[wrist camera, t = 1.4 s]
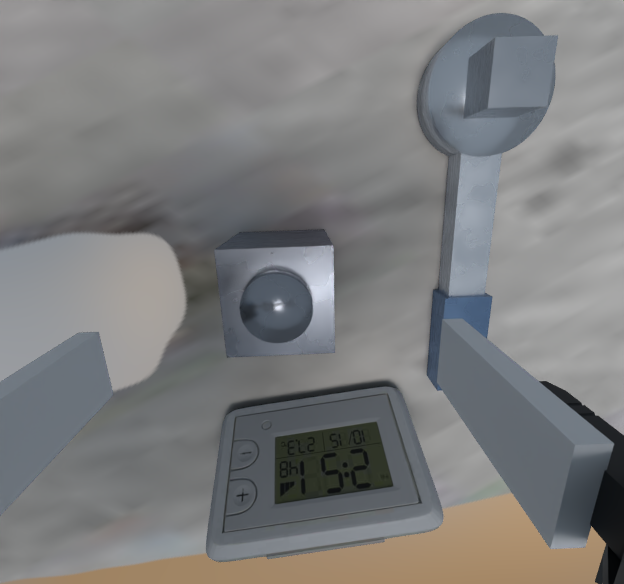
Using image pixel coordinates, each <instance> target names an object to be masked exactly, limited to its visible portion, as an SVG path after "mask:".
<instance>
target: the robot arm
mask: <svg viewBox="0 0 624 584" xmlns="http://www.w3.org/2000/svg"><path fill="white" fill-rule="evenodd" d="M437 383H438V385H439V386H440V388H441V389H442V391H443V392H444V394H445V395H446V396H447V398H448V399H449V401H450V402H451V404H452V405H453V407H454V408H455V410H456V411H457V413H458V414H459V416H460V417H461V418H462V420H463V421H464V423H465V424H466V426H467V427H468V429H469V430H470V432H471V433H472V435H473V436H474V438H475V439H476V441H477V442H478V443H479V445H480V446H481V448H482V449H483V451H484V452H485V454H486V455H487V457H488V458H489V460H490V461H491V463H492V464H493V465H494V467H495V468H496V470H497V471H498V473H499V474H500V476H501V477H502V479H503V480H504V482H505V483H506V485H507V486H508V488H509V489H510V490H511V492H512V493H513V495H514V496H515V498H516V499H517V501H518V502H519V504H520V505H521V507H522V508H523V510H524V511H525V512H526V514H527V515H528V517H529V518H530V520H531V521H532V523H533V524H534V526H535V527H536V528H537V530H538V532H539V533H540V534H541V536H542V537H543V539H544V540H545V542H546V543H547V545H548V546H549V548H550V549H561V548H582V547H583V548H584V547H585V546H586V543H587V539H588V535H589V532H590V528H591V526H592V527H593V528H594V530H595V531H596V532H597V533H598V534H599V536H600V537H601V538H602V539H603V540H604V541H605V543H606V547H605V550H604V553H603V556H602V560H601V563H600V566H599V570H598V573H597V576H596V579H595V582H596V583H598V584H602V583H603V584H624V435H622V434H621V433H620V432H618V431H617V430H616V429H615V428H613V427H612V426H611V425H609V424H608V423H607V422H606V421H604V420H603V419H602V418H600V417H599V416H595V413H594V412H593V411H591V410H590V409H589V408H587V407H586V406H585V405H582V403H581V402H580V401H578V400H577V399H576V398H574V397H573V396H572V395H571V394H569V393H568V392H567V391H565V390H563V389H561V388H559V387H557V386H555V385H553V384H551V383H549V382H547V381H538V380H536V379H535V378H534V377H533V376H531V375H530V374H529V373H528V372H527V371H525V370H524V369H523V368H522V367H521V366H519V365H518V364H517V363H516V362H514V361H513V360H512V359H511V358H510V357H508V356H507V355H506V354H505V353H504V352H502V351H501V350H500V349H499V348H497V347H496V346H495V345H494V344H493V343H491V342H490V341H489V340H488V339H487V338H485V337H484V336H483V335H482V334H480V333H479V332H478V331H477V330H476V329H474V328H473V327H472V326H471V325H470V324H468V323H467V322H466V321H465V320H463V319H442V329H441V340H440V352H439V363H438V375H437ZM112 396H113V391H112V386H111V382H110V378H109V374H108V370H107V365H106V361H105V357H104V352H103V348H102V344H101V340H100V336H99V332H83V333H77V334H76V335H74V336H72V337H71V338H69V339H68V340H66V341H64V342H63V343H61V344H60V345H58V346H57V347H55V348H54V349H52V350H50V351H48V352H47V353H45V354H44V355H42V356H41V357H39V358H37V359H36V360H34V361H33V362H31V363H29V364H28V365H26V366H25V367H23V368H21V369H20V370H18V371H17V372H15V373H14V374H12V375H10V376H9V377H7V378H6V379H4V380H2V381H1V382H0V515H1V514H2V513H3V512H4V511H5V510H6V509H7V508H8V507H9V506H10V505H11V504H12V503H13V501H14V500H15V499H16V498H17V497H18V496H19V495H20V494H21V493H22V492H23V491H24V490H25V489H26V488H27V487H28V485H29V484H30V483H31V482H32V481H33V480H34V479H35V478H36V477H37V476H38V475H39V474H40V473H41V472H42V471H43V469H44V468H45V467H46V466H47V465H48V464H49V463H50V462H51V461H52V460H53V459H54V458H55V457H56V456H57V454H58V453H59V452H60V451H61V450H62V449H63V448H64V447H65V446H66V445H67V444H68V443H69V442H70V441H71V440H72V438H73V437H74V436H75V435H76V434H77V433H78V432H79V431H80V430H81V429H82V428H83V427H84V426H85V425H86V424H87V422H88V421H89V420H90V419H91V418H92V417H93V416H94V415H95V414H96V413H97V412H98V411H99V410H100V409H101V408H102V406H103V405H104V404H105V403H106V402H107V401H108V400H109V399H110V398H111V397H112Z"/></svg>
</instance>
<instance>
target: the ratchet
mask: <svg viewBox="0 0 624 584" xmlns="http://www.w3.org/2000/svg"><path fill="white" fill-rule="evenodd" d="M557 39H558V35H557V36H544V35H543V33H542V32H541V31H540V30H539V29H538V28H537V27H536V26H535V25H534V24H533V23H531V22H530V21H528V20H526V19H525V18H522V17H520V16H517V15H513V14H507V13H497V14H490V15H486V16H483V17H480V18H478V19H475V20H474V21H472V22H470V23H468V24H467V25H465V26H464V27H463V28H462V29H460V30H459V31H458V32H457V33H456V34H455V35H454V36H453V37H452V38H451V39H450V40H449V41H448V42H447V43H446V44H445V45H444V46H443V47H442V48H441V49H440V50H439V51H438V52H437V53H436V54H435V56H434V57H433V58H432V59H431V61H430V63H429V64H428V66H427V67H426V69H425V71H424V74H423V76H422V79H421V81H420V85H419V89H418V95H417V113H418V119H419V123H420V126H421V128H422V131H423V133H424V135H425V136H426V138H427V139H428V141H429V142H430V143H431V144H432V145H433V146H434V147H435V148H436V149H437V150H439V151H440V152H441V153H443V154H445V155H447V156H449V162H448V174H447V187H446V199H445V212H444V224H443V237H442V249H441V262H440V274H439V287H438V290H433V302H432V316H431V329H430V342H429V355H428V368H427V376H428V378H429V379H430V380H431V382H432V383H433V385H434V386H435V388H436V389H437V391H438V390H442V389H441V388H440V386H439V385H438V383H437V375H438V363H439V352H440V340H441V329H442V319H463V320H465V321H466V322H467V323H468V324H470V325H471V326H472V327H473V328H474V329H476V330H477V331H478V332H479V333H480V334H482V335H483V336H484V337H485V338H487V334H488V326H489V318H490V311H491V303H492V296H490V295H488V294H487V293H485V286H486V278H487V270H488V262H489V253H490V245H491V237H492V229H493V221H494V213H495V204H496V196H497V188H498V180H499V172H500V164H501V155H502V153H503V152H506V151H508V150H510V149H512V148H514V147H516V146H517V145H519V144H520V143H521V142H523V141H524V140H525V139H526V138H527V137H528V136H530V134H531V133H532V132H533V131H534V130H535V129H536V128H537V126H538V125H539V124H540V122H541V121H542V119H543V117H544V115H545V114H546V112H547V109H548V107H549V105H550V102H551V99H552V96H553V91H554V86H555V63H554V59H555V52H556V46H557Z"/></svg>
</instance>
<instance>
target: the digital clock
mask: <svg viewBox="0 0 624 584" xmlns="http://www.w3.org/2000/svg"><path fill="white" fill-rule="evenodd" d="M442 522H443V511H442V507H441V503H440V500H439V497H438V494H437V491H436V488H435V485H434V482H433V480H432V477H431V474H430V471H429V468H428V465H427V463H426V460H425V457H424V454H423V451H422V448H421V446H420V443H419V440H418V437H417V434H416V431H415V429H414V426H413V423H412V420H411V417H410V414H409V412H408V409H407V406H406V403H405V400H404V398H403V396H402V394H401V392H400V391H399V390H398V389H396V388H393V387H376V388H369V389H362V390H355V391H349V392H342V393H336V394H329V395H323V396H317V397H310V398H304V399H297V400H291V401H284V402H278V403H272V404H265V405H259V406H253V407H247V408H242V409H237V410H234V411H232V412H231V413H229V414H228V415H227V416H226V417H225V419H224V422H223V426H222V432H221V439H220V446H219V453H218V460H217V467H216V474H215V481H214V488H213V495H212V502H211V509H210V516H209V523H208V532H207V540H206V553H207V555H208V557H209V558H211V559H212V560H214V561H219V562H227V561H236V560H243V559H250V558H257V557H265V556H266V557H267V559H272V558H279V557H286V556H292V555H299V554H306V553H313V552H320V551H327V550H333V549H340V548H347V547H354V546H361V545H367V544H374V543H380V542H384V539H387V538H392V537H399V536H406V535H412V534H419V533H425V532H429V531H432V530H435V529H437V528H438V527H439V526H440V525H441V524H442Z"/></svg>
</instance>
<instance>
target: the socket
mask: <svg viewBox="0 0 624 584" xmlns="http://www.w3.org/2000/svg"><path fill="white" fill-rule="evenodd" d="M214 252H215V261H216V269H217V278H218V286H219V295H220V303H221V312H222V320H223V329H224V337H225V346H226V354H227V357H248V356H271V355H294V354H318V353H335V325H334V253H333V244H332V242H331V241H330V239H329V237H328V235H327V234H326V232H325V230H324V229H321V230H293V231H265V232H240V233H238V234H237V235H235V236H234V237H232V238H231V239H230V240H228V241H227V242H225V243H224V244H222V245H221V246H219V247H218V248H216V249H215V250H214Z"/></svg>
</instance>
